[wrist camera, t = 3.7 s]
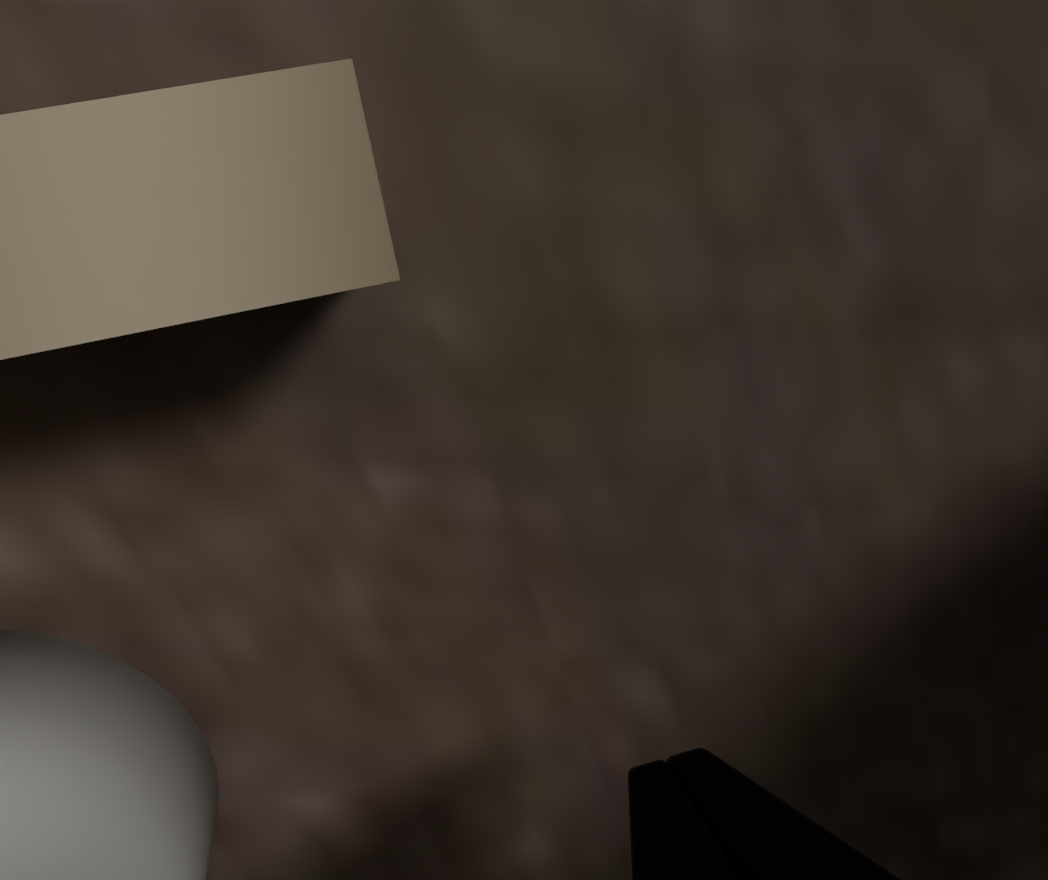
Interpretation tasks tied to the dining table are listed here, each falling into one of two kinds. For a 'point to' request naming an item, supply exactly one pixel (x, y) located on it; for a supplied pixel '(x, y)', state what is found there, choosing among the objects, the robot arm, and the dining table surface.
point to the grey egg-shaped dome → (97, 769)
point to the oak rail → (186, 206)
